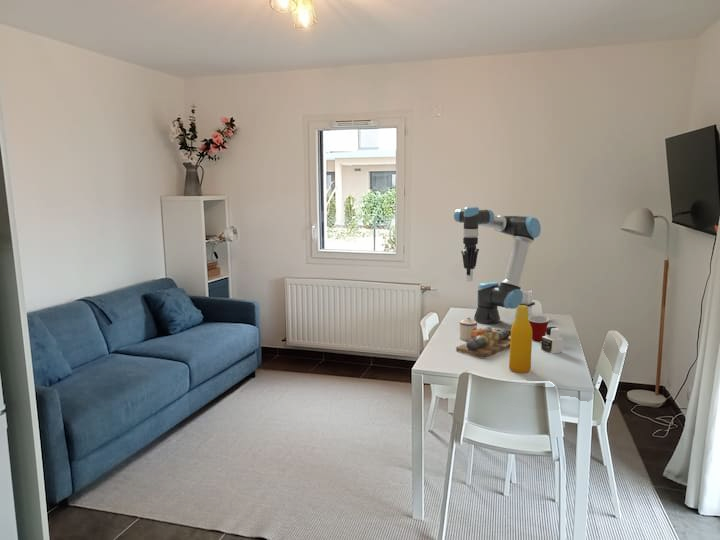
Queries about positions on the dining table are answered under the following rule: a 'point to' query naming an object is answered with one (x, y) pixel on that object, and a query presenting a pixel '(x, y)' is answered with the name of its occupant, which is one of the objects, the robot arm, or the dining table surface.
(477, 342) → the pipe valve
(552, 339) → the medicine bottle
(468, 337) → the teacup with lid
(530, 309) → the candle holder
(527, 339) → the beer bottle
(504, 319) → the dining table surface
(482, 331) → the valve lever
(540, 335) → the plastic cup
